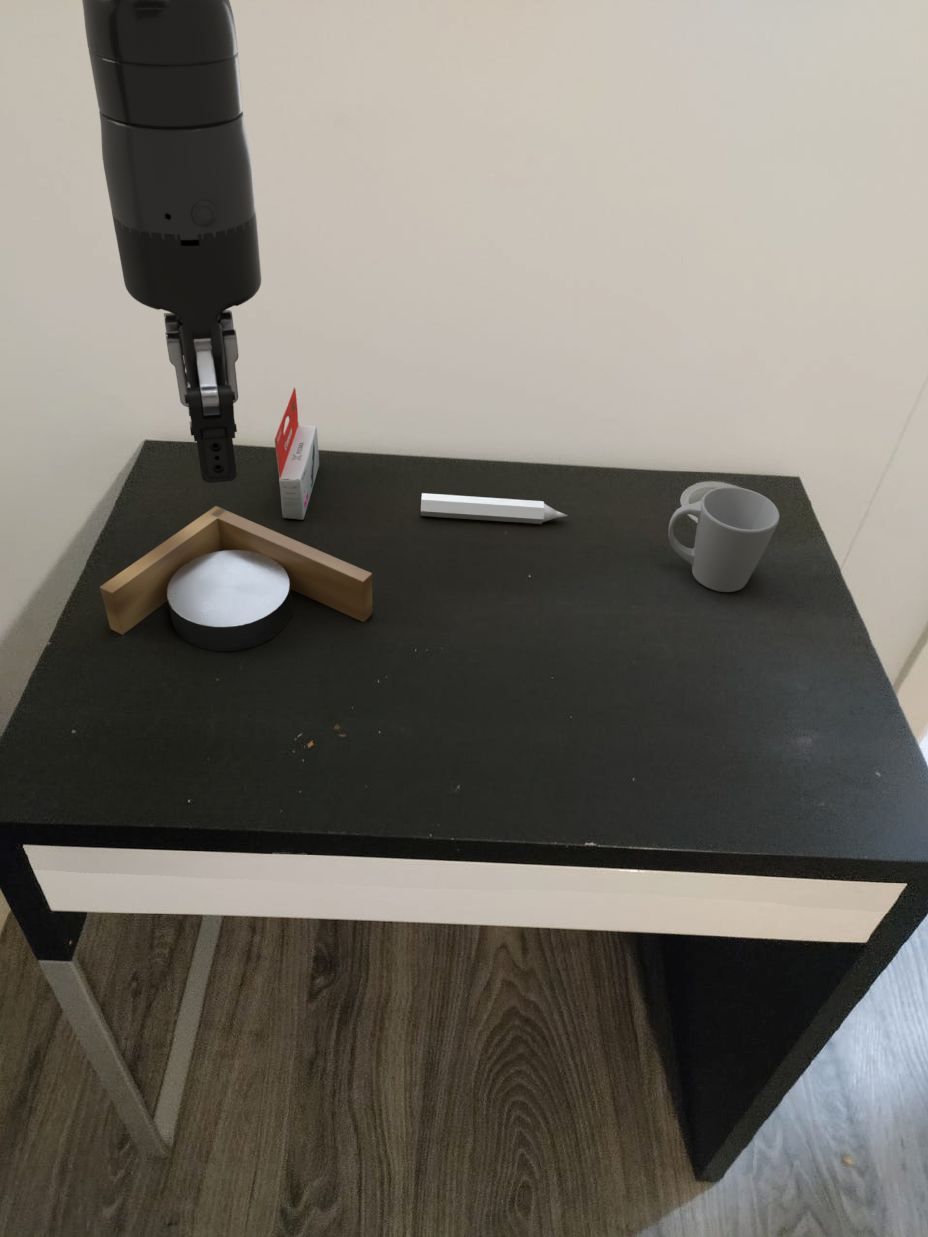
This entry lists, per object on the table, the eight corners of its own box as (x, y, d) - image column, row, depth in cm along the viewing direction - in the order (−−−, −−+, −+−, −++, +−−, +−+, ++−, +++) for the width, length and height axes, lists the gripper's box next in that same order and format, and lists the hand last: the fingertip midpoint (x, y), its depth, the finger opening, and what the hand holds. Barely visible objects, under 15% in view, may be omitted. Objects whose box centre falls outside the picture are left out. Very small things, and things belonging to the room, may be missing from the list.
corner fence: (272, 712, 78) (267, 670, 75) (110, 629, 84) (99, 586, 81) (372, 614, 88) (372, 573, 85) (221, 546, 94) (215, 505, 91)
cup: (756, 606, 93) (781, 537, 87) (656, 587, 94) (674, 518, 88) (756, 560, 98) (779, 493, 93) (661, 543, 100) (678, 476, 94)
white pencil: (566, 528, 102) (420, 518, 101) (566, 511, 102) (421, 500, 102) (570, 518, 99) (420, 507, 99) (570, 500, 100) (422, 489, 99)
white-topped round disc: (238, 668, 82) (235, 643, 80) (145, 621, 86) (140, 596, 84) (315, 601, 89) (314, 577, 87) (226, 560, 93) (223, 536, 91)
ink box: (320, 464, 107) (316, 387, 100) (303, 521, 98) (298, 441, 92) (298, 462, 107) (293, 385, 100) (280, 519, 98) (273, 439, 92)
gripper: (110, 165, 54) (156, 429, 65) (110, 251, 44) (164, 542, 56) (243, 164, 56) (265, 421, 67) (269, 246, 46) (289, 528, 58)
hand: (219, 475), depth 61 cm, fingers closed
